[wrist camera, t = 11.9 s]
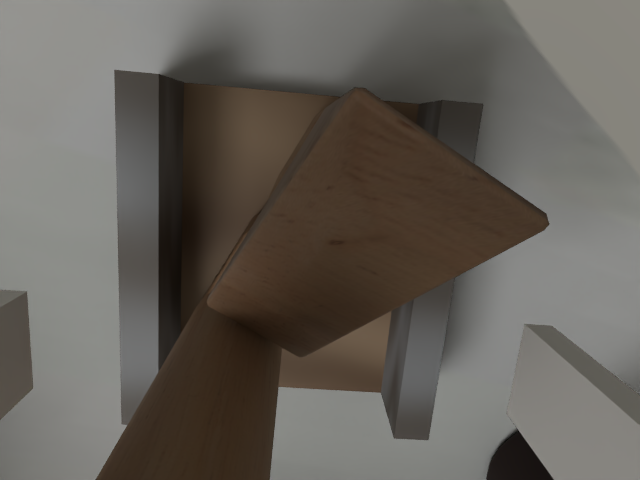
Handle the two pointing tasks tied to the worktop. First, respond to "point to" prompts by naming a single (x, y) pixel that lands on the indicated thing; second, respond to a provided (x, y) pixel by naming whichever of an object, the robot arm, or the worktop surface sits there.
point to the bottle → (517, 462)
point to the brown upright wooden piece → (315, 282)
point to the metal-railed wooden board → (230, 222)
